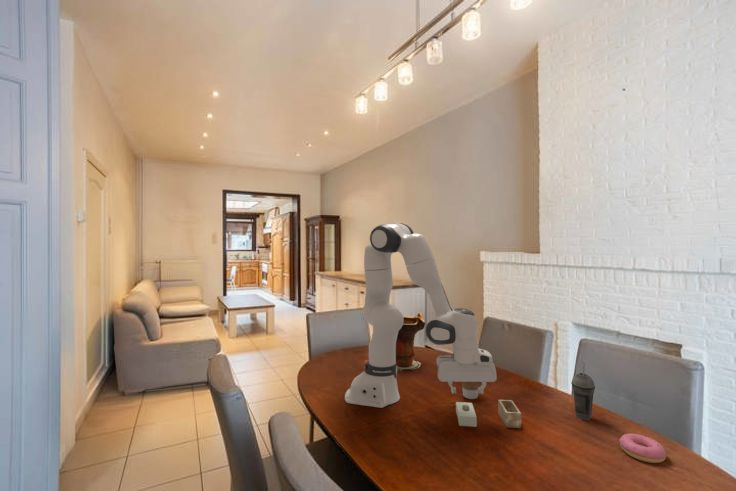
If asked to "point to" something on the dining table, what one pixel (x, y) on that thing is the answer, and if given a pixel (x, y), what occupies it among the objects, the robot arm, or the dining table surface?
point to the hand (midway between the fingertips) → (467, 393)
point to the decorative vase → (408, 342)
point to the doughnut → (643, 448)
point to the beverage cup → (583, 395)
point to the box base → (509, 413)
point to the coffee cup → (470, 389)
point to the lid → (466, 414)
